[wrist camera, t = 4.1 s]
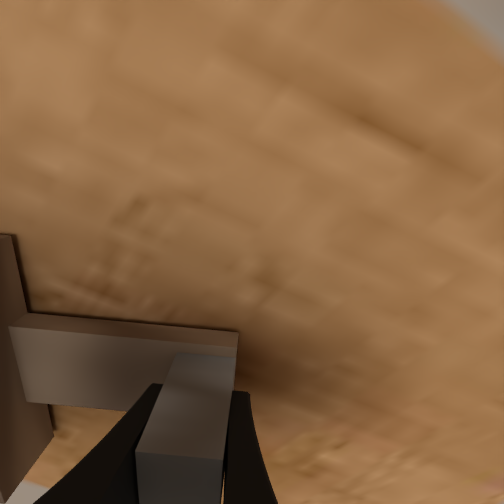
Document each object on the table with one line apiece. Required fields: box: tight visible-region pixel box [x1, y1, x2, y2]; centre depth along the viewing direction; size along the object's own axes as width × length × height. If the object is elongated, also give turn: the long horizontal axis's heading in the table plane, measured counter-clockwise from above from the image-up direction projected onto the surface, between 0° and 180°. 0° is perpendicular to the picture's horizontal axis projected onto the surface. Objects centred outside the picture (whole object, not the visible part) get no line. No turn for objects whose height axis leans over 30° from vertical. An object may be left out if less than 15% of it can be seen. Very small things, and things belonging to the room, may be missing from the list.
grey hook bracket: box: [0, 235, 239, 504], centre depth 11 cm, size 11×11×5 cm
